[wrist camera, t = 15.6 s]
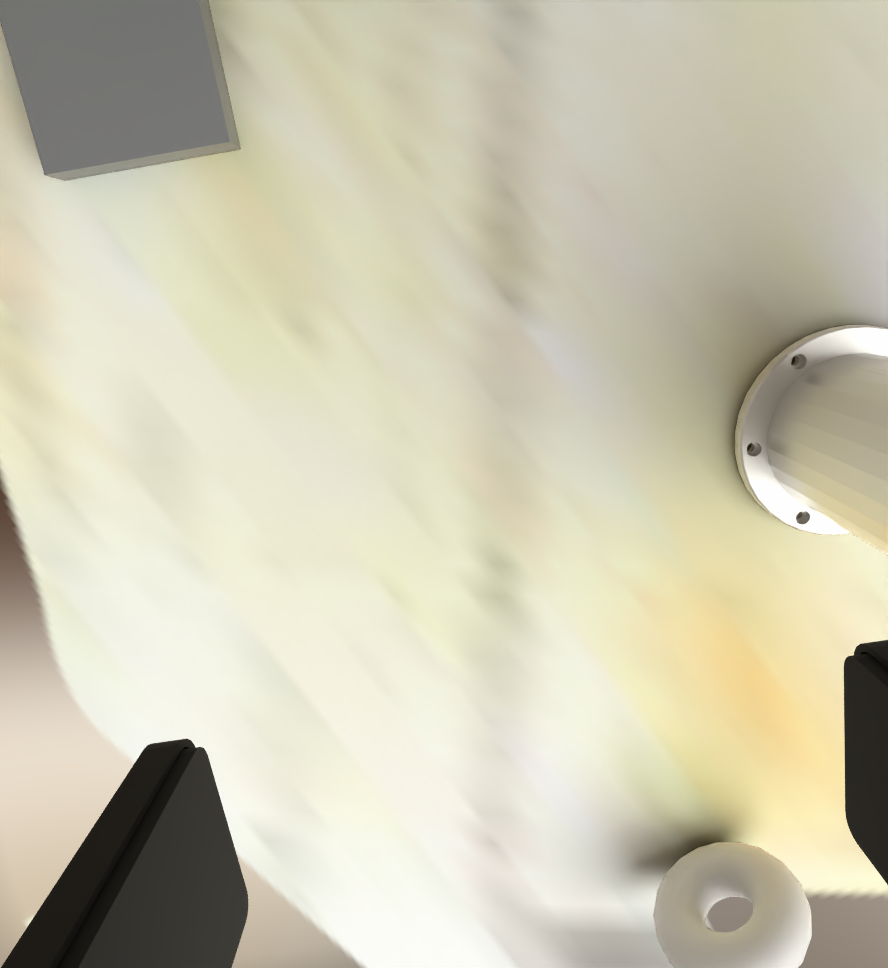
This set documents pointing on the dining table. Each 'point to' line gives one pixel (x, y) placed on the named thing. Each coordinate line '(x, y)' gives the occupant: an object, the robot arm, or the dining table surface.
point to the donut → (724, 873)
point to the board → (119, 82)
